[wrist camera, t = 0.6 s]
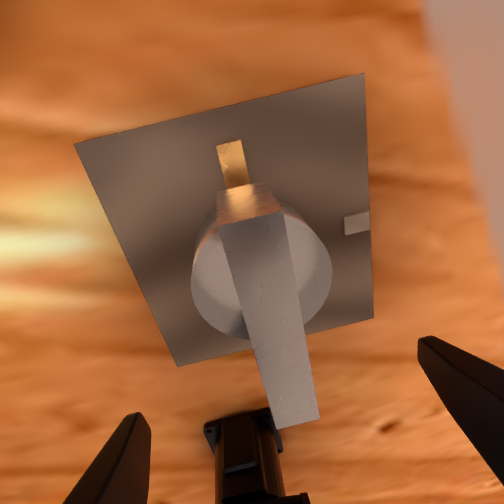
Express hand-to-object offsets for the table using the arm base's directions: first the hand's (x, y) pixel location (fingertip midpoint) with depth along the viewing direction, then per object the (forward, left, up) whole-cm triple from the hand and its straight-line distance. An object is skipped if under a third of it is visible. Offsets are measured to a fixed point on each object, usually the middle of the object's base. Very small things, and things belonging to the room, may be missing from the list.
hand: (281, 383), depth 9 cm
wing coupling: (0, 0, -10) cm, 10 cm away
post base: (0, 0, -12) cm, 12 cm away
